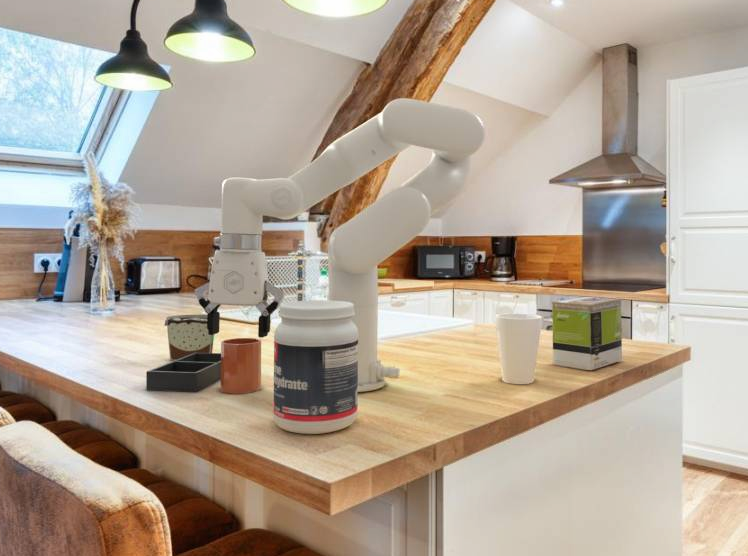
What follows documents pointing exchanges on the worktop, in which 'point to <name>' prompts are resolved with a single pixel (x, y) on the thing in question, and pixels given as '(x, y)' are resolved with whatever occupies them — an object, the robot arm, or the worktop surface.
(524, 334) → the foam cup
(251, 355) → the cup
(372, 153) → the robot arm
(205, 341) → the food container
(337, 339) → the supplement tub
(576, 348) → the tea box
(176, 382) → the holder
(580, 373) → the worktop surface
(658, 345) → the worktop surface
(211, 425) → the worktop surface
